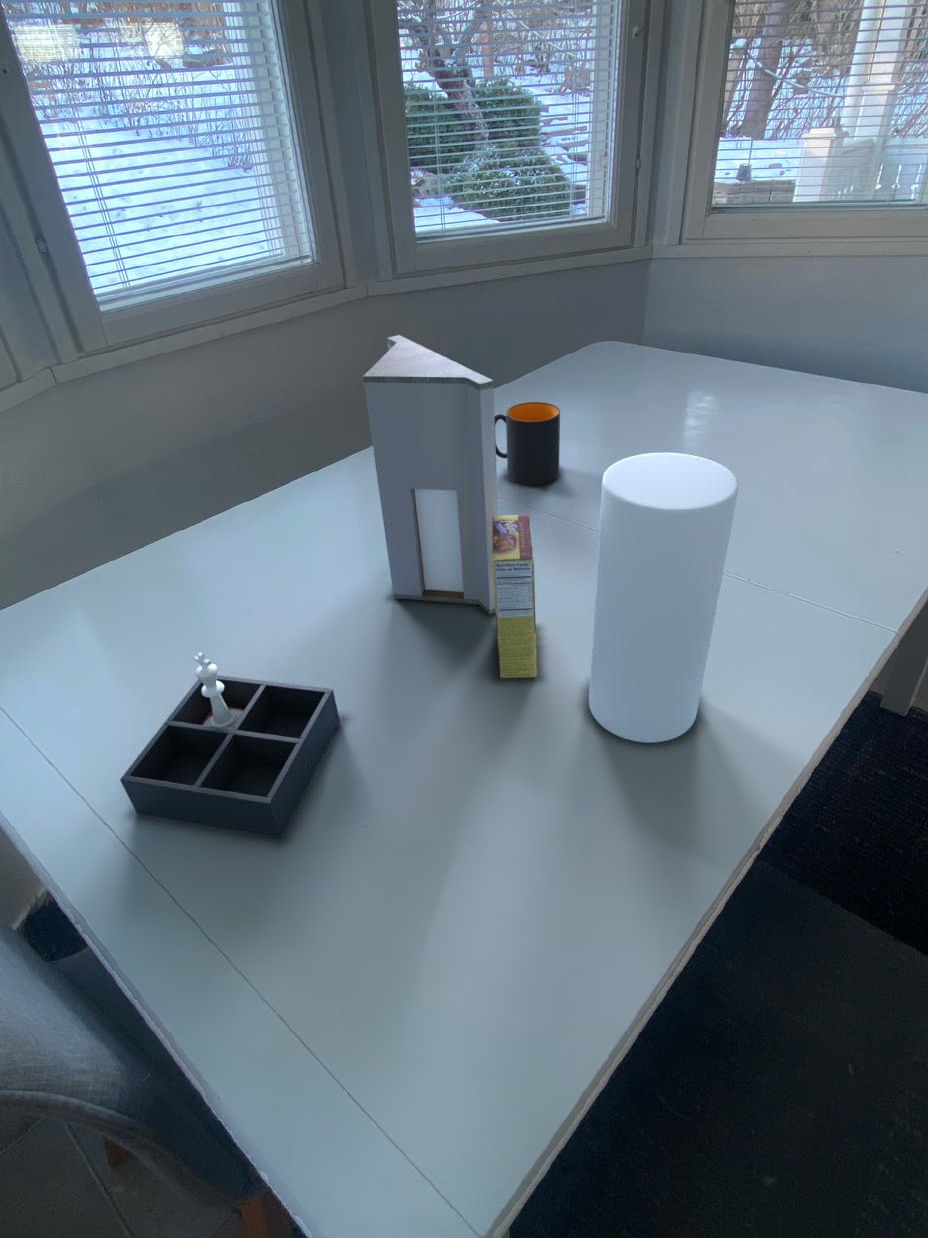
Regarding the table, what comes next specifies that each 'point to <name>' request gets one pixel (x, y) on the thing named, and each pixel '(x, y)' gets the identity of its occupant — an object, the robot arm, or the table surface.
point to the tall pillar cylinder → (657, 590)
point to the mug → (532, 442)
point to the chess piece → (215, 695)
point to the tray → (235, 757)
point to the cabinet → (434, 473)
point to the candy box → (514, 595)
